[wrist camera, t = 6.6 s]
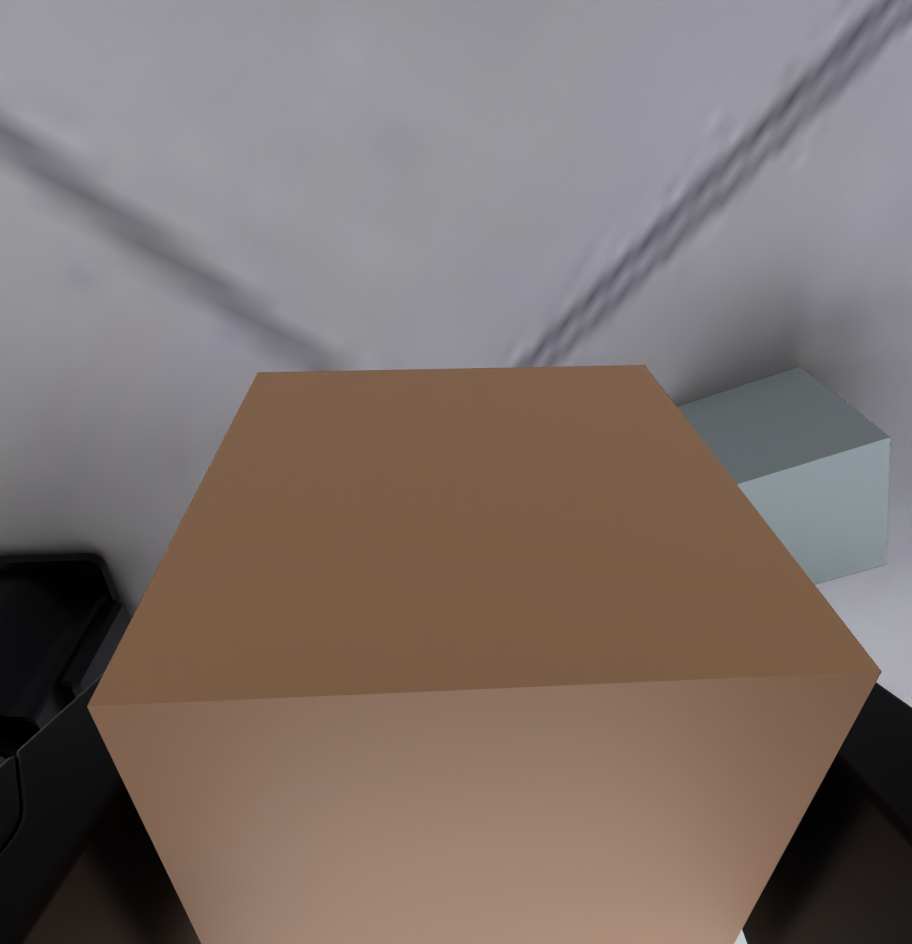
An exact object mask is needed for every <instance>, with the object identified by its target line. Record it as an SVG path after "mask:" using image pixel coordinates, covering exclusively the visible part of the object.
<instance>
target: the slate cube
mask: <svg viewBox="0 0 912 944" xmlns="http://www.w3.org/2000/svg"><path fill="white" fill-rule="evenodd" d="M677 408H678V409H679V410H680V411H681V413H682V414H683V415H684V417H685V418H686V419H687V421H688V422H689V423H690V424H691V426H692V427H693V428H694V430H695V431H696V432H697V433H698V435H699V436H700V437H701V439H702V440H703V441H704V443H705V444H706V445H707V446H708V448H709V449H710V450H711V452H712V453H713V454H714V455H715V457H716V458H717V459H718V461H719V462H720V463H721V464H722V466H723V467H724V468H725V470H726V471H727V472H728V474H729V475H730V476H731V477H732V479H733V480H734V481H735V483H736V484H737V485H738V486H739V488H740V489H741V490H742V492H743V493H744V494H745V496H746V497H747V498H748V499H749V501H750V502H751V503H752V505H753V506H754V507H755V508H756V510H757V511H758V512H759V514H760V515H761V516H762V518H763V519H764V520H765V521H766V523H767V524H768V525H769V527H770V528H771V529H772V530H773V532H774V533H775V534H776V536H777V537H778V538H779V540H780V541H781V542H782V543H783V545H784V546H785V547H786V549H787V550H788V551H789V552H790V554H791V555H792V556H793V558H794V559H795V560H796V562H797V563H798V564H799V565H800V567H801V568H802V569H803V571H804V572H805V573H806V574H807V576H808V577H809V578H810V580H811V581H812V582H813V584H814V585H816V584H819V583H823V582H826V581H830V580H833V579H837V578H840V577H844V576H848V575H851V574H855V573H858V572H862V571H865V570H869V569H872V568H876V567H880V566H883V565H887V533H888V499H889V465H890V437H889V436H888V435H887V434H885V433H884V432H883V431H882V430H880V429H879V428H878V427H876V426H875V425H874V424H873V423H871V422H870V421H869V420H868V419H866V418H865V417H864V416H862V415H861V414H860V413H859V412H857V411H856V410H855V409H853V408H852V407H851V406H850V405H848V404H847V403H846V402H845V401H843V400H842V399H841V398H839V397H838V396H837V395H836V394H834V393H833V392H832V391H830V390H829V389H828V388H827V387H825V386H824V385H823V384H822V383H820V382H819V381H818V380H816V379H815V378H814V377H813V376H811V375H810V374H809V373H807V372H806V371H805V370H804V369H802V368H801V367H800V366H799V367H796V368H793V369H790V370H787V371H784V372H781V373H778V374H775V375H772V376H769V377H766V378H763V379H760V380H757V381H754V382H751V383H748V384H745V385H742V386H739V387H736V388H733V389H730V390H726V391H723V392H720V393H717V394H714V395H711V396H708V397H705V398H702V399H699V400H696V401H693V402H690V403H687V404H684V405H681V406H678V407H677Z"/></svg>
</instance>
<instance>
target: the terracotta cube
mask: <svg viewBox="0 0 912 944" xmlns="http://www.w3.org/2000/svg"><path fill="white" fill-rule="evenodd" d="M881 672H882V671H881V670H880V669H879V668H878V666H877V665H876V664H875V662H874V661H873V660H872V659H871V657H870V656H869V655H868V653H867V652H866V651H865V649H864V648H863V647H862V646H861V644H860V643H859V642H858V640H857V639H856V638H855V637H854V635H853V634H852V633H851V631H850V630H849V629H848V627H847V626H846V625H845V624H844V622H843V621H842V620H841V618H840V617H839V616H838V615H837V613H836V612H835V611H834V609H833V608H832V607H831V606H830V604H829V603H828V602H827V600H826V599H825V598H824V596H823V595H822V594H821V593H820V591H819V590H818V589H817V587H816V586H815V585H814V584H813V582H812V581H811V580H810V578H809V577H808V576H807V574H806V573H805V572H804V571H803V569H802V568H801V567H800V565H799V564H798V563H797V562H796V560H795V559H794V558H793V556H792V555H791V554H790V552H789V551H788V550H787V549H786V547H785V546H784V545H783V543H782V542H781V541H780V540H779V538H778V537H777V536H776V534H775V533H774V532H773V530H772V529H771V528H770V527H769V525H768V524H767V523H766V521H765V520H764V519H763V518H762V516H761V515H760V514H759V512H758V511H757V510H756V508H755V507H754V506H753V505H752V503H751V502H750V501H749V499H748V498H747V497H746V496H745V494H744V493H743V492H742V490H741V489H740V488H739V486H738V485H737V484H736V483H735V481H734V480H733V479H732V477H731V476H730V475H729V474H728V472H727V471H726V470H725V468H724V467H723V466H722V464H721V463H720V462H719V461H718V459H717V458H716V457H715V455H714V454H713V453H712V452H711V450H710V449H709V448H708V446H707V445H706V444H705V443H704V441H703V440H702V439H701V437H700V436H699V435H698V433H697V432H696V431H695V430H694V428H693V427H692V426H691V424H690V423H689V422H688V421H687V419H686V418H685V417H684V415H683V414H682V413H681V411H680V410H679V409H678V408H677V406H676V405H675V404H674V402H673V401H672V400H671V399H670V397H669V396H668V395H667V393H666V392H665V391H664V389H663V388H662V387H661V386H660V384H659V383H658V382H657V380H656V379H655V378H654V377H653V375H652V374H651V373H650V371H649V370H648V369H647V367H646V366H645V365H627V366H575V367H523V368H471V369H419V370H367V371H314V372H262V373H257V375H256V377H255V379H254V381H253V383H252V385H251V387H250V389H249V391H248V393H247V395H246V397H245V398H244V400H243V402H242V404H241V406H240V408H239V410H238V412H237V414H236V416H235V418H234V420H233V422H232V424H231V426H230V428H229V430H228V432H227V434H226V436H225V438H224V440H223V442H222V443H221V445H220V447H219V449H218V451H217V453H216V455H215V457H214V459H213V461H212V463H211V465H210V467H209V469H208V471H207V473H206V475H205V477H204V479H203V481H202V483H201V485H200V486H199V488H198V490H197V492H196V494H195V496H194V498H193V500H192V502H191V504H190V506H189V508H188V510H187V512H186V514H185V516H184V518H183V520H182V522H181V524H180V526H179V528H178V530H177V531H176V533H175V535H174V537H173V539H172V541H171V543H170V545H169V547H168V549H167V551H166V553H165V555H164V557H163V559H162V561H161V563H160V565H159V567H158V569H157V571H156V573H155V575H154V576H153V578H152V580H151V582H150V584H149V586H148V588H147V590H146V592H145V594H144V596H143V598H142V600H141V602H140V604H139V606H138V608H137V610H136V612H135V614H134V616H133V618H132V619H131V621H130V623H129V625H128V627H127V629H126V631H125V633H124V635H123V637H122V639H121V641H120V643H119V645H118V647H117V649H116V651H115V653H114V655H113V657H112V659H111V661H110V663H109V664H108V666H107V668H106V670H105V672H104V674H103V676H102V678H101V680H100V682H99V684H98V686H97V688H96V690H95V692H94V694H93V696H92V698H91V700H90V702H89V704H88V706H87V707H88V710H89V712H90V714H91V716H92V718H93V720H94V722H95V724H96V726H97V728H98V730H99V732H100V734H101V737H102V739H103V741H104V743H105V745H106V747H107V749H108V751H109V753H110V755H111V757H112V759H113V761H114V763H115V766H116V768H117V770H118V772H119V774H120V776H121V778H122V780H123V782H124V784H125V786H126V788H127V790H128V793H129V795H130V797H131V799H132V801H133V803H134V805H135V807H136V809H137V811H138V813H139V815H140V817H141V820H142V822H143V824H144V826H145V828H146V830H147V832H148V834H149V836H150V838H151V840H152V842H153V844H154V847H155V849H156V851H157V853H158V855H159V857H160V859H161V861H162V863H163V865H164V867H165V869H166V871H167V874H168V876H169V878H170V880H171V882H172V884H173V886H174V888H175V890H176V892H177V894H178V896H179V898H180V900H181V903H182V905H183V907H184V909H185V911H186V913H187V915H188V917H189V919H190V921H191V923H192V925H193V927H194V930H195V932H196V934H197V936H198V938H199V940H200V942H201V944H734V943H735V941H736V939H737V937H738V936H739V934H740V932H741V930H742V928H743V926H744V924H745V923H746V921H747V919H748V917H749V915H750V913H751V912H752V910H753V908H754V906H755V904H756V902H757V900H758V899H759V897H760V895H761V893H762V891H763V889H764V888H765V886H766V884H767V882H768V880H769V878H770V876H771V875H772V873H773V871H774V869H775V867H776V865H777V864H778V862H779V860H780V858H781V856H782V854H783V852H784V851H785V849H786V847H787V845H788V843H789V841H790V840H791V838H792V836H793V834H794V832H795V830H796V829H797V827H798V825H799V823H800V821H801V819H802V817H803V816H804V814H805V812H806V810H807V808H808V806H809V805H810V803H811V801H812V799H813V797H814V795H815V793H816V792H817V790H818V788H819V786H820V784H821V782H822V781H823V779H824V777H825V775H826V773H827V771H828V769H829V768H830V766H831V764H832V762H833V760H834V758H835V757H836V755H837V753H838V751H839V749H840V747H841V745H842V744H843V742H844V740H845V738H846V736H847V734H848V733H849V731H850V729H851V727H852V725H853V723H854V722H855V720H856V718H857V716H858V714H859V712H860V710H861V709H862V707H863V705H864V703H865V701H866V699H867V698H868V696H869V694H870V692H871V690H872V688H873V686H874V685H875V683H876V681H877V679H878V677H879V675H880V674H881Z"/></svg>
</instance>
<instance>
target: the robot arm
mask: <svg viewBox="0 0 912 944" xmlns="http://www.w3.org/2000/svg"><path fill="white" fill-rule="evenodd" d="M87 565H88V566H91V567H93V568H90V567H88V566H87ZM129 623H130V619H129V616H128V613H127V611H126V608H125V606H124V604H123V603H122V602H121V601H120V599H119V596H118V594H117V591H116V588H115V586H114V583H113V581H112V578H111V575H110V573H109V570H108V568H107V565H106V563H105V561H104V560H103V559H102V558H101V557H100V556H98V555H95V554H90V553H83V554H53V555H23V556H0V944H201V942H200V940H199V938H198V936H197V934H196V932H195V930H194V927H193V925H192V923H191V921H190V919H189V917H188V915H187V913H186V911H185V909H184V907H183V905H182V903H181V900H180V898H179V896H178V894H177V892H176V890H175V888H174V886H173V884H172V882H171V880H170V878H169V876H168V874H167V871H166V869H165V867H164V865H163V863H162V861H161V859H160V857H159V855H158V853H157V851H156V849H155V847H154V844H153V842H152V840H151V838H150V836H149V834H148V832H147V830H146V828H145V826H144V824H143V822H142V820H141V817H140V815H139V813H138V811H137V809H136V807H135V805H134V803H133V801H132V799H131V797H130V795H129V793H128V790H127V788H126V786H125V784H124V782H123V780H122V778H121V776H120V774H119V772H118V770H117V768H116V766H115V763H114V761H113V759H112V757H111V755H110V753H109V751H108V749H107V747H106V745H105V743H104V741H103V739H102V737H101V734H100V732H99V730H98V728H97V726H96V724H95V722H94V720H93V718H92V716H91V714H90V712H89V710H88V707H87V706H88V704H89V702H90V700H91V698H92V696H93V694H94V692H95V690H96V688H97V686H98V684H99V682H100V680H101V678H102V676H103V674H104V672H105V670H106V668H107V666H108V664H109V663H110V661H111V659H112V657H113V655H114V653H115V651H116V649H117V647H118V645H119V643H120V641H121V639H122V637H123V635H124V633H125V631H126V629H127V627H128V625H129ZM742 931H743V934H744V936H745V939H746V942H747V944H912V707H910V706H909V705H907V704H906V703H905V702H903V701H902V700H900V699H899V698H897V697H896V696H895V695H893V694H892V693H890V692H889V691H888V690H886V689H885V688H883V687H882V686H880V685H879V684H878V683H875V685H874V686H873V688H872V690H871V692H870V694H869V696H868V698H867V699H866V701H865V703H864V705H863V707H862V709H861V710H860V712H859V714H858V716H857V718H856V720H855V722H854V723H853V725H852V727H851V729H850V731H849V733H848V734H847V736H846V738H845V740H844V742H843V744H842V745H841V747H840V749H839V751H838V753H837V755H836V757H835V758H834V760H833V762H832V764H831V766H830V768H829V769H828V771H827V773H826V775H825V777H824V779H823V781H822V782H821V784H820V786H819V788H818V790H817V792H816V793H815V795H814V797H813V799H812V801H811V803H810V805H809V806H808V808H807V810H806V812H805V814H804V816H803V817H802V819H801V821H800V823H799V825H798V827H797V829H796V830H795V832H794V834H793V836H792V838H791V840H790V841H789V843H788V845H787V847H786V849H785V851H784V852H783V854H782V856H781V858H780V860H779V862H778V864H777V865H776V867H775V869H774V871H773V873H772V875H771V876H770V878H769V880H768V882H767V884H766V886H765V888H764V889H763V891H762V893H761V895H760V897H759V899H758V900H757V902H756V904H755V906H754V908H753V910H752V912H751V913H750V915H749V917H748V919H747V921H746V923H745V924H744V926H743V928H742Z"/></svg>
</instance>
